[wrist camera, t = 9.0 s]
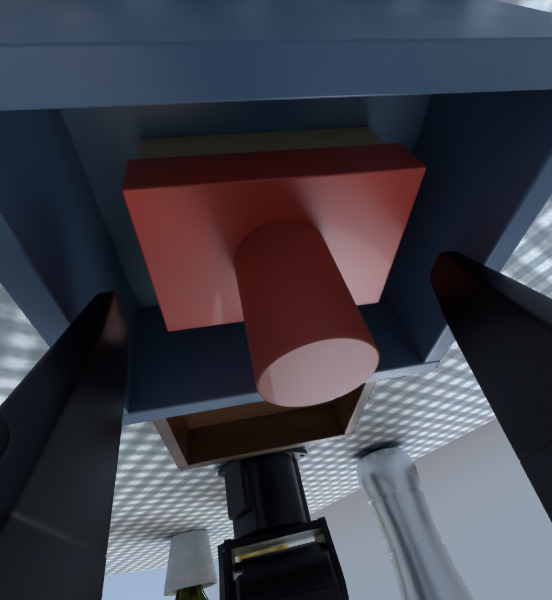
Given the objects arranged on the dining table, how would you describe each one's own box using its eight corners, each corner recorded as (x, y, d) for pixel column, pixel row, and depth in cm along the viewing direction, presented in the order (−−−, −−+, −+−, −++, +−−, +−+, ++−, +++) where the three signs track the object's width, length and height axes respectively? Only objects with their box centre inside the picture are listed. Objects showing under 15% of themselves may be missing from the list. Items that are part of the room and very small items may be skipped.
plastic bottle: (357, 467, 43) (441, 712, 29) (345, 453, 38) (440, 741, 24) (407, 450, 42) (518, 695, 28) (401, 434, 37) (532, 721, 23)
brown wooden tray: (338, 399, 27) (351, 436, 25) (179, 428, 26) (179, 471, 24) (366, 314, 20) (388, 357, 18) (143, 346, 18) (139, 398, 16)
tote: (379, 279, 18) (434, 371, 14) (126, 311, 16) (111, 428, 12) (475, -5, 10) (660, 36, 6) (-16, -9, 8) (-186, 45, 4)
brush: (376, 119, 11) (536, 268, 6) (347, 246, 15) (434, 402, 10) (132, 131, 10) (93, 326, 5) (168, 266, 14) (165, 453, 9)
